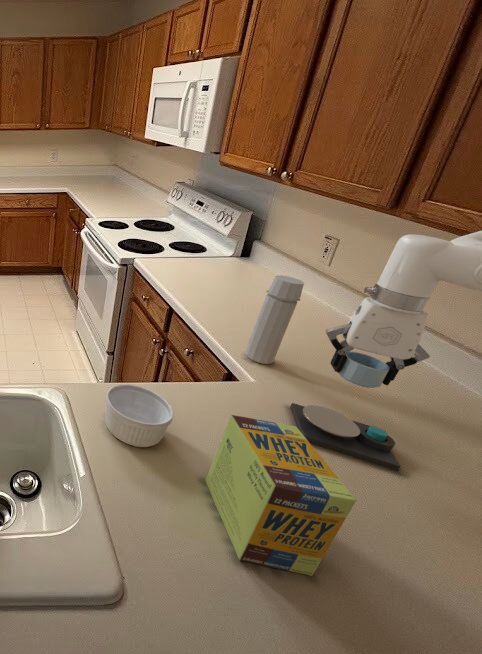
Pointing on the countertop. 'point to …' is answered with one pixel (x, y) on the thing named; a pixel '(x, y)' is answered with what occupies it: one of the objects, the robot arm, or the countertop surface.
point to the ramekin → (137, 415)
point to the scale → (348, 441)
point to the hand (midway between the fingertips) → (358, 374)
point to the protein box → (276, 495)
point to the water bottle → (274, 319)
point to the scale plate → (331, 421)
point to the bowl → (364, 370)
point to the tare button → (377, 433)
